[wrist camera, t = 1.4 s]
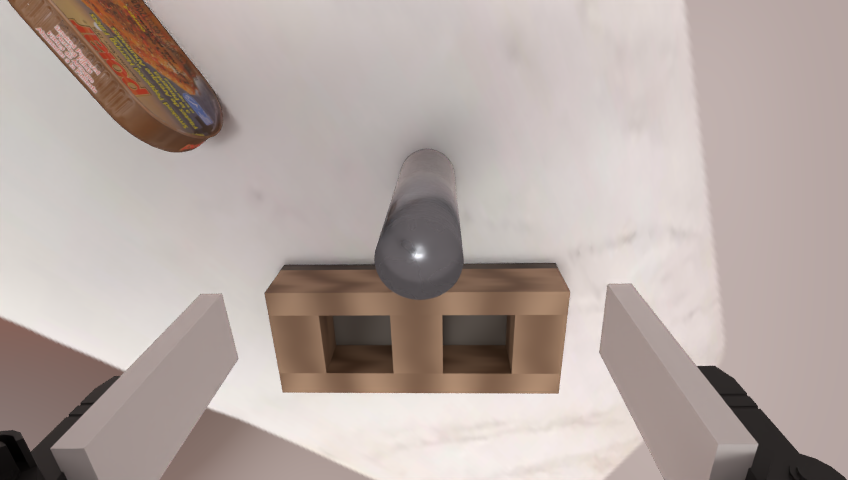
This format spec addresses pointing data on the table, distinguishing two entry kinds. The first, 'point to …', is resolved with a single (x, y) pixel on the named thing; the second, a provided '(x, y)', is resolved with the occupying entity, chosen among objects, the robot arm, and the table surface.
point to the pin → (421, 230)
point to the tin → (129, 68)
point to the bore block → (419, 331)
